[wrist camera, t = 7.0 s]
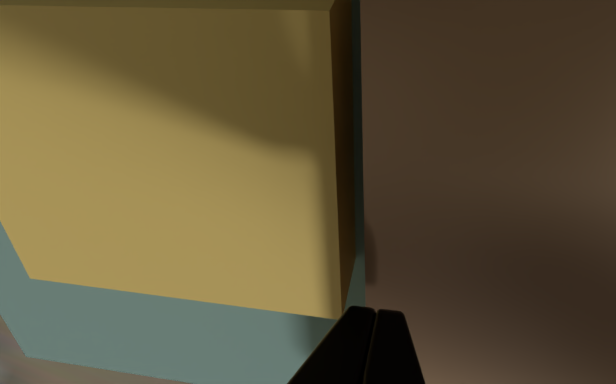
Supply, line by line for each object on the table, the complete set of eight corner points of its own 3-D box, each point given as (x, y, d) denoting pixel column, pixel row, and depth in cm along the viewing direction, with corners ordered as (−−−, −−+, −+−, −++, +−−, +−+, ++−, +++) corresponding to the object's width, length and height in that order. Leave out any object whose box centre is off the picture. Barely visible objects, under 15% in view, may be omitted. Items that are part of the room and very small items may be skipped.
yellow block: (355, 257, 14) (341, 320, 13) (72, 226, 16) (30, 278, 14) (350, -31, 10) (329, 10, 8) (-36, -31, 12) (-113, 3, 10)
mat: (376, 404, 18) (375, 412, 18) (30, 349, 21) (26, 356, 21) (378, -612, 6) (374, -626, 6) (-428, -423, 9) (-453, -429, 9)
